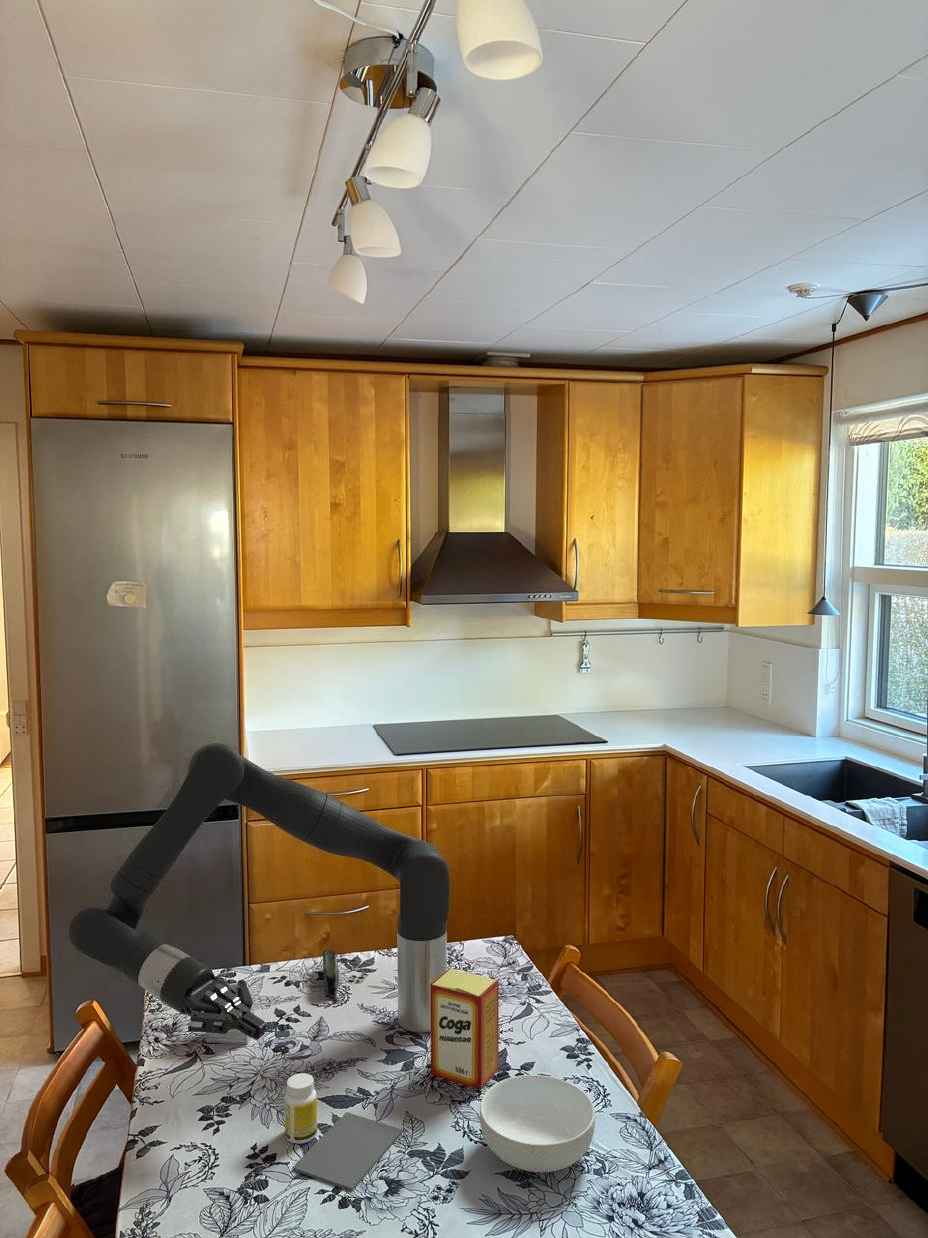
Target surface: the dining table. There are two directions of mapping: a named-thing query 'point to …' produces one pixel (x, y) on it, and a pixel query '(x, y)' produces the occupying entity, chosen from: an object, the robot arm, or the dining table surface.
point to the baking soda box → (464, 1028)
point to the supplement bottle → (300, 1109)
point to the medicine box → (232, 1035)
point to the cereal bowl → (537, 1122)
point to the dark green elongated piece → (330, 974)
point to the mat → (348, 1151)
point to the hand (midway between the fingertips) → (262, 1032)
